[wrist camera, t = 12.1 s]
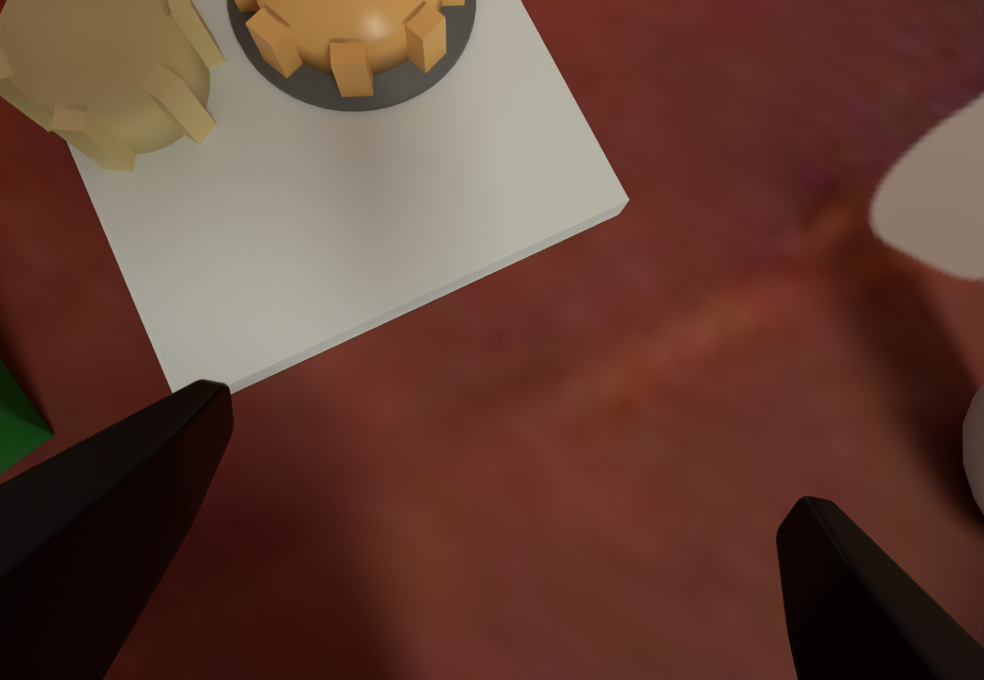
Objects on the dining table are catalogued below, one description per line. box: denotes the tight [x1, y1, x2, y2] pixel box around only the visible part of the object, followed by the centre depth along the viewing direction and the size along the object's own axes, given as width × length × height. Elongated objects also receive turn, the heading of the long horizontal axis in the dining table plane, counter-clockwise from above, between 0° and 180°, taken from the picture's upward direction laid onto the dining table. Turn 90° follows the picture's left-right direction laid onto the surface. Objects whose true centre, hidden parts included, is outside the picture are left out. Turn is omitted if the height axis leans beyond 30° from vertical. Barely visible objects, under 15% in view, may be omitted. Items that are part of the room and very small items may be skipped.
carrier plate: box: [0, 0, 629, 394], centre depth 22 cm, size 18×18×4 cm
